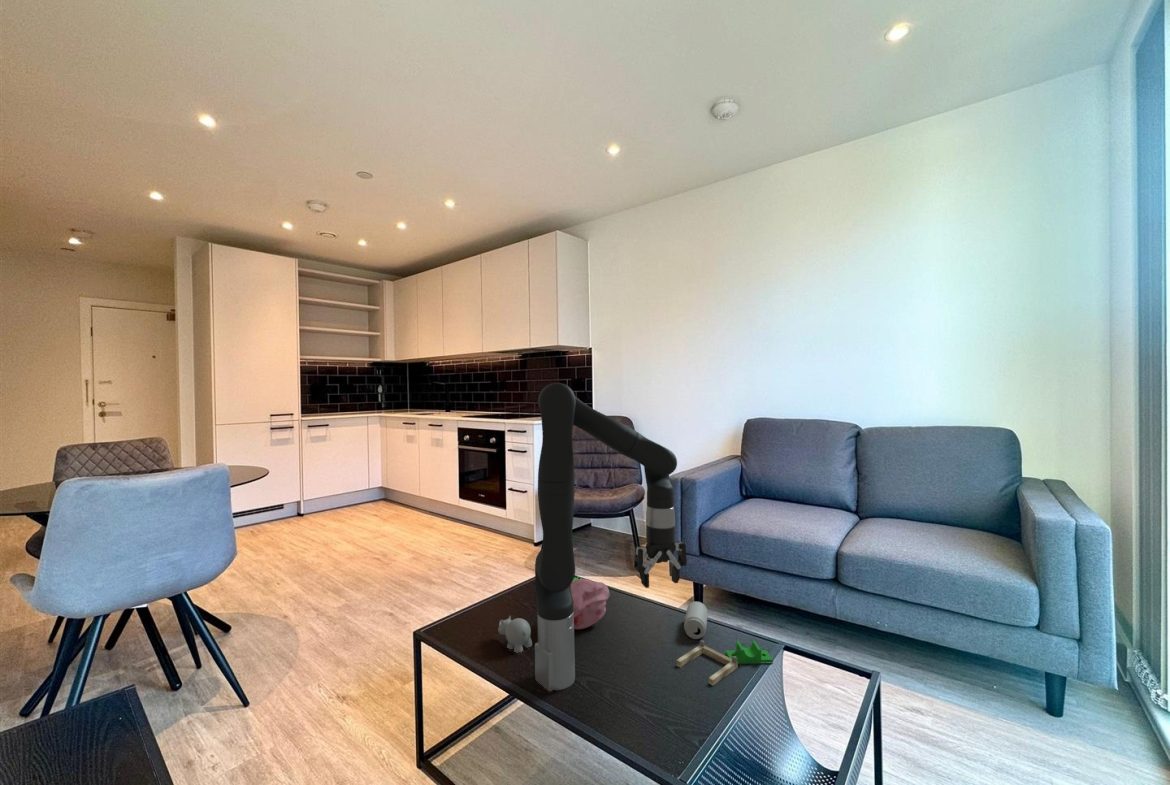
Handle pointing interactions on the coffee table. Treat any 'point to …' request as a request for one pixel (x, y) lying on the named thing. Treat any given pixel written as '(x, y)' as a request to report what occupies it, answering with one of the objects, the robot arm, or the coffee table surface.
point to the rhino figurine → (516, 633)
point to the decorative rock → (588, 602)
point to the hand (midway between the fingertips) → (660, 584)
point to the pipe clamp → (749, 654)
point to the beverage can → (696, 619)
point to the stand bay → (702, 649)
